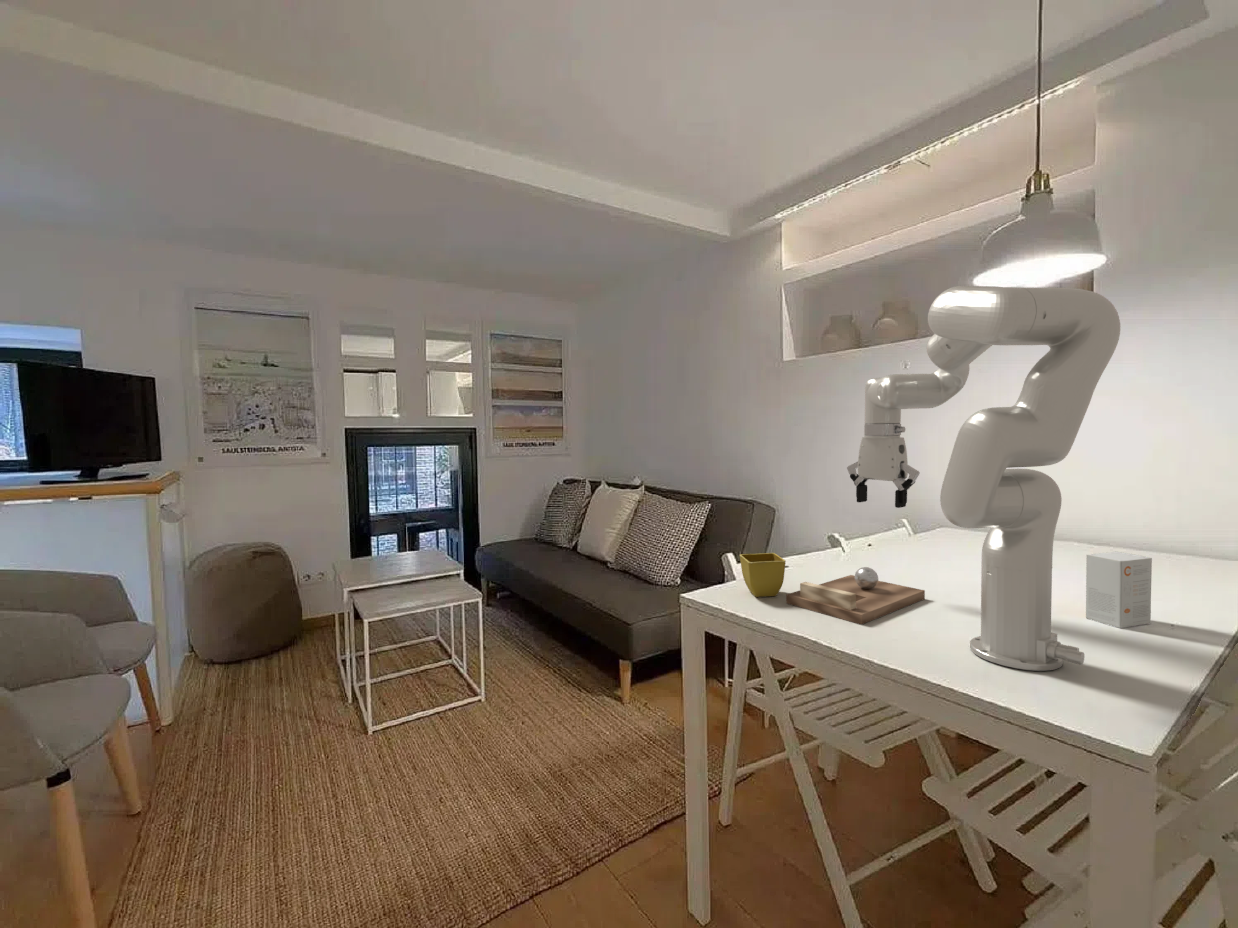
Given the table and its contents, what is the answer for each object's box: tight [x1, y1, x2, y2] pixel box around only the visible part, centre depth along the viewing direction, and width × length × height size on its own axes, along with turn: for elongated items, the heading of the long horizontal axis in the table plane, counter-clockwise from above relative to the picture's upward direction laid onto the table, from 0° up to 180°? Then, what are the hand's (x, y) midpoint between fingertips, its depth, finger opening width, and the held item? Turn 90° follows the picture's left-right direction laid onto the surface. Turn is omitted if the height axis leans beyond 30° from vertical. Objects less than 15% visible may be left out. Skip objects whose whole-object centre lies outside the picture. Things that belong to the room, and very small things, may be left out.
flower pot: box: [739, 552, 786, 598], centre depth 129 cm, size 9×9×9 cm
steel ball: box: [854, 566, 879, 589], centre depth 124 cm, size 5×5×5 cm
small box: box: [1085, 551, 1153, 629], centre depth 105 cm, size 8×6×13 cm
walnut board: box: [785, 574, 926, 625], centre depth 122 cm, size 18×26×5 cm
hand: (880, 504), depth 126 cm, fingers open, 9 cm apart
